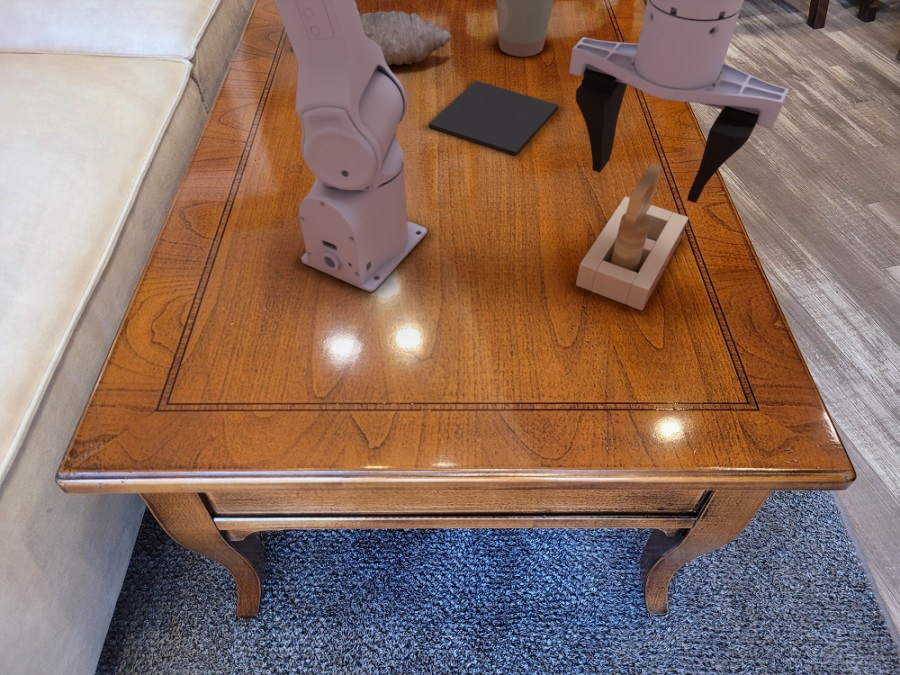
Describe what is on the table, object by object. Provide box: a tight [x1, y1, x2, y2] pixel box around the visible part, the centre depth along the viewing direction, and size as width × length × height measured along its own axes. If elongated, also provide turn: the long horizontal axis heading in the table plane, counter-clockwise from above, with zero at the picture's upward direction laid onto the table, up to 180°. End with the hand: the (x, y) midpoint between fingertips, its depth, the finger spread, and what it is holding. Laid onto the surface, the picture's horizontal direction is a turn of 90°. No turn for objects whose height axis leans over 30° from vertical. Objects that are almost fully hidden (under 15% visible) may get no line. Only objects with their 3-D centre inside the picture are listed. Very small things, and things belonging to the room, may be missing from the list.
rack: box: [575, 196, 689, 311], centre depth 61 cm, size 6×11×3 cm, turn 150°
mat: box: [428, 80, 559, 156], centre depth 78 cm, size 11×11×1 cm
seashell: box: [360, 10, 452, 67], centre depth 84 cm, size 6×14×8 cm, turn 99°
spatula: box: [609, 163, 663, 274], centre depth 57 cm, size 5×2×10 cm, turn 150°
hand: (646, 179), depth 53 cm, fingers open, 7 cm apart
